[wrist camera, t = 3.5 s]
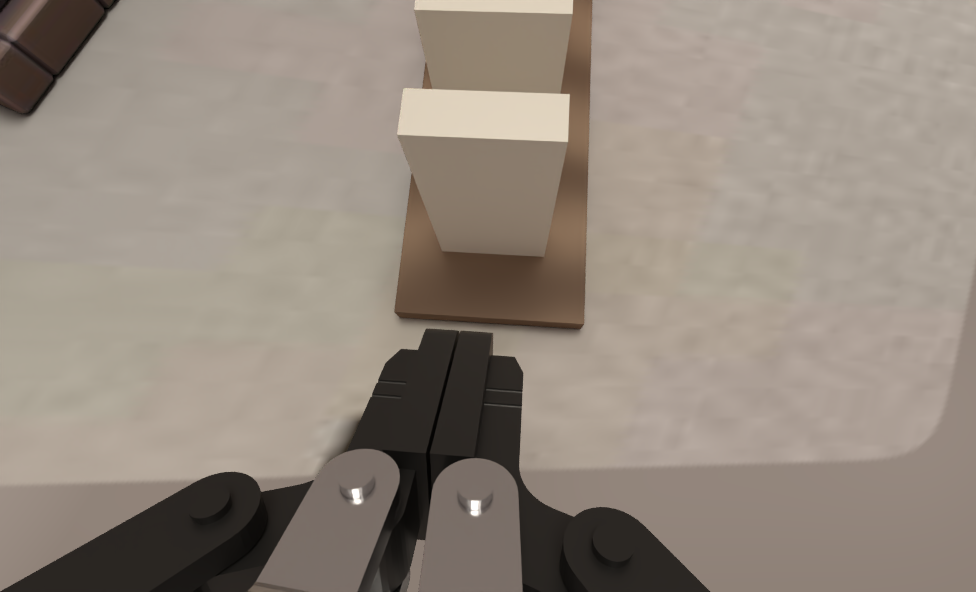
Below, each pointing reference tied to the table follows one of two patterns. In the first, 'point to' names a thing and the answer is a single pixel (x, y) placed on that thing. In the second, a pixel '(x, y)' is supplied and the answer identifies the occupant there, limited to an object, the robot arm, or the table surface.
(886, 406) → the table surface
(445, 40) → the domino
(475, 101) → the domino
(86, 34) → the miniature tower
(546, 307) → the walnut board
